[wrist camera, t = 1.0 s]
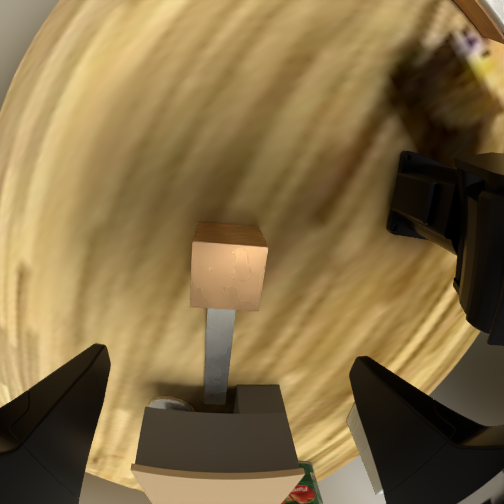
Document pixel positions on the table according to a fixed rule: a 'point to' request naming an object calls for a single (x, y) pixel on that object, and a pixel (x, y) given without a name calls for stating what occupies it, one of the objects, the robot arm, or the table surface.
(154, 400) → the token
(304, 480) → the canned tomato
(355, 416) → the skincare box
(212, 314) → the brown block with rod
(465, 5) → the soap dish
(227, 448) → the cabinet
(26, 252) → the table surface
